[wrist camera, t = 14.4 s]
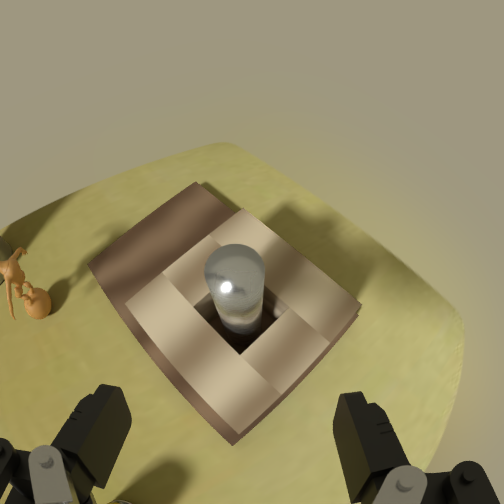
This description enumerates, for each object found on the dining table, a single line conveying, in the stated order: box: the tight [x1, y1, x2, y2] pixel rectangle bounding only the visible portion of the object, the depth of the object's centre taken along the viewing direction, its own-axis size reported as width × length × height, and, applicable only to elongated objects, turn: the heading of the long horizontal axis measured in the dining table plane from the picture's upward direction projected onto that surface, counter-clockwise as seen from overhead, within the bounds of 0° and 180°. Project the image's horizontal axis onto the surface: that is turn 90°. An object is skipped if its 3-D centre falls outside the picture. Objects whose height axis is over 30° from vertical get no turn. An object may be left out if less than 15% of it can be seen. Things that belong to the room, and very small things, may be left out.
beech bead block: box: [125, 208, 362, 434], centre depth 25 cm, size 14×14×6 cm
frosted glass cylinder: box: [204, 244, 265, 345], centre depth 22 cm, size 3×3×13 cm
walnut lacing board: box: [87, 182, 359, 446], centre depth 30 cm, size 26×18×2 cm
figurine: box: [0, 247, 52, 320], centre depth 24 cm, size 8×6×12 cm
